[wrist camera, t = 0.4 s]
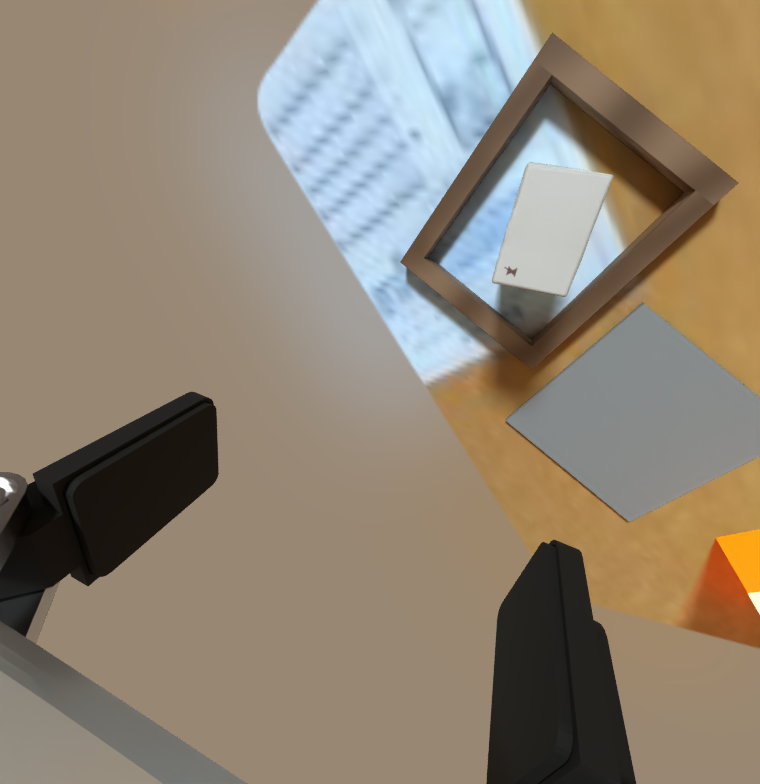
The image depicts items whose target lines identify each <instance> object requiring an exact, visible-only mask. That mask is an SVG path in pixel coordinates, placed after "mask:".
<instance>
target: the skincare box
mask: <svg viewBox="0 0 760 784" xmlns="http://www.w3.org/2000/svg"><path fill="white" fill-rule="evenodd" d="M612 179H613V175H611V174H605V173H599V172H593V171H587V170H580V169H574V168H568V167H561V166H554V165H548V164H541V163H533V162H529V163H528V164H527V165H526V167H525V171H524V174H523V177H522V181H521V184H520V187H519V191H518V194H517V198H516V201H515V204H514V208H513V211H512V214H511V217H510V220H509V223H508V225H507V229H506V233H505V237H504V240H503V243H502V246H501V250H500V253H499V257H498V260H497V264H496V267H495V271H494V274H493V278H492V282H493V283H496V284H502V285H507V286H512V287H517V288H522V289H527V290H533V291H538V292H543V293H548V294H553V295H558V296H563V297H565V296H566V295H567V293H568V291H569V288H570V286H571V284H572V281H573V279H574V277H575V274H576V272H577V270H578V267H579V265H580V262H581V260H582V257H583V254H584V251H585V249H586V246H587V243H588V240H589V238H590V235H591V232H592V230H593V227H594V225H595V222H596V220H597V217H598V214H599V212H600V209H601V207H602V204H603V202H604V199H605V196H606V194H607V191H608V189H609V186H610V183H611V181H612Z"/></svg>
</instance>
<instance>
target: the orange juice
mask: <svg viewBox="0 0 760 784" xmlns="http://www.w3.org/2000/svg"><path fill="white" fill-rule="evenodd" d="M716 539H717V541H718V543H719V544H720V546H721V548H722V550H723V551H724V553H725V555H726V556H727V558H728V560H729V562H730V563H731V565H732V567H733V568H734V570H735V572H736V574H737V575H738V577H739V579H740V580H741V582H742V584H743V585H744V587H745V589H746V591H747V592H748V595H749V597H750V599H751V600H752V602H753V604H754V605H755V607H756V609H757V611H758V612H759V614H760V529H759V530H754V531H749V532H743V533H738V534H733V535H728V536H723V537H718V538H716Z"/></svg>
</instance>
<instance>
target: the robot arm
mask: <svg viewBox="0 0 760 784" xmlns="http://www.w3.org/2000/svg"><path fill="white" fill-rule="evenodd" d="M33 476H34V479H35V481H34V482H32V483H30V484H29V485H28V484H27V482H26V479H25V478H23V477H22V476H20V475H18V474H14V473H10V472H0V784H246V783H245V782H244V781H242V780H241V779H239V778H238V777H236V776H235V775H233V774H232V773H230V772H229V771H227V770H226V769H224V768H223V767H221V766H220V765H218V764H217V763H215V762H214V761H212V760H211V759H209V758H208V757H206V756H205V755H203V754H202V753H200V752H199V751H197V750H196V749H194V748H192V747H191V746H190V745H188V744H187V743H185V742H184V741H182V740H180V739H179V738H178V737H176V736H175V735H173V734H171V733H170V732H169V731H167V730H166V729H164V728H163V727H161V726H160V725H158V724H156V723H155V722H153V721H152V720H150V719H149V718H147V717H146V716H144V715H143V714H141V713H140V712H138V711H137V710H135V709H134V708H132V707H130V706H129V705H128V704H126V703H125V702H123V701H122V700H120V699H119V698H117V697H116V696H114V695H113V694H111V693H110V692H108V691H107V690H105V689H104V688H102V687H100V686H99V685H98V684H96V683H94V682H93V681H91V680H90V679H88V678H87V677H85V676H84V675H82V674H81V673H79V672H78V671H76V670H75V669H73V668H72V667H70V666H69V665H67V664H65V663H64V662H62V661H61V660H59V659H58V658H56V657H54V656H53V655H52V654H50V653H49V652H47V651H46V650H44V649H43V648H41V647H40V646H38V645H36V642H37V639H38V637H39V634H40V632H41V629H42V627H43V624H44V622H45V619H46V616H47V614H48V611H49V609H50V606H51V603H52V601H53V598H54V596H55V593H56V590H57V588H58V585H59V583H60V580H62V579H63V578H64V577H66V576H67V575H68V574H69V573H70V574H71V576H72V577H73V578H75V579H76V580H78V581H80V582H81V583H83V584H85V585H87V586H89V585H90V584H92V583H93V582H94V581H95V580H96V579H97V578H99V577H103V576H106V575H108V574H109V573H111V572H112V571H113V570H114V569H115V568H117V567H118V566H119V565H120V564H121V563H122V562H124V561H125V560H126V559H127V558H128V557H129V556H130V555H132V554H133V553H134V552H135V551H136V550H137V549H139V548H140V547H141V546H142V545H143V544H144V543H146V542H147V541H148V540H149V539H150V538H151V537H153V536H154V535H155V534H156V533H157V532H158V531H160V530H161V529H162V528H163V527H164V526H165V525H167V524H168V523H169V522H170V521H171V520H172V519H173V518H175V517H176V516H177V515H178V514H179V513H181V512H182V511H183V510H184V509H185V508H186V507H188V506H189V505H190V504H191V503H192V502H193V501H194V500H196V499H197V498H198V497H199V496H200V495H201V494H203V493H204V492H205V491H206V490H207V489H208V488H210V487H211V486H212V485H213V484H214V483H215V481H216V479H217V477H218V445H217V416H216V408H215V406H214V404H213V401H212V400H211V399H210V398H207V397H205V396H202V395H200V394H198V393H195V392H189V393H186V394H185V395H183V396H181V397H179V398H177V399H175V400H173V401H171V402H169V403H167V404H165V405H163V406H162V407H160V408H158V409H156V410H154V411H152V412H150V413H148V414H146V415H144V416H142V417H141V418H139V419H137V420H135V421H133V422H131V423H129V424H127V425H125V426H123V427H121V428H119V429H117V430H116V431H114V432H112V433H110V434H108V435H106V436H104V437H102V438H100V439H99V440H97V441H95V442H93V443H91V444H89V445H87V446H85V447H83V448H81V449H79V450H77V451H75V452H73V453H72V454H70V455H68V456H66V457H64V458H62V459H60V460H58V461H56V462H54V463H52V464H50V465H48V466H47V467H45V468H43V469H41V470H39V471H37V472H35V473H33ZM494 663H495V664H494V677H493V694H492V709H491V724H490V738H489V739H490V740H489V753H488V769H487V784H636V781H635V776H634V771H633V766H632V760H631V756H630V751H629V745H628V741H627V735H626V730H625V726H624V720H623V715H622V710H621V705H620V700H619V695H618V690H617V685H616V680H615V675H614V670H613V665H612V660H611V655H610V650H609V644H608V639H607V636H606V633H605V630H604V628H603V627H602V625H601V624H600V623H598V622H596V621H594V620H593V615H592V609H591V603H590V597H589V592H588V586H587V580H586V574H585V569H584V563H583V557H582V553H581V552H580V550H578V549H576V548H573V547H571V546H568V545H566V544H564V543H561V542H559V541H556V540H552V541H551V542H550V543H549V544H547V543H545V542H542V543H541V544H540V546H539V547H538V549H537V550H536V552H535V553H534V555H533V556H532V558H531V559H530V561H529V563H528V564H527V566H526V567H525V569H524V570H523V572H522V573H521V575H520V576H519V578H518V579H517V581H516V582H515V584H514V586H513V587H512V589H511V590H510V592H509V593H508V595H507V596H506V598H505V599H504V601H503V602H502V604H501V606H500V609H499V613H498V618H497V632H496V647H495V662H494Z"/></svg>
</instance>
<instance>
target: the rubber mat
mask: <svg viewBox="0 0 760 784" xmlns="http://www.w3.org/2000/svg"><path fill="white" fill-rule="evenodd" d="M506 421H507V422H508V423H509V424H510V425H512V426H513V427H514V428H515V429H516V430H518V431H519V432H520V433H521V434H522V435H524V436H525V437H526V438H527V439H529V440H530V441H531V442H532V443H533V444H535V445H536V446H537V447H538V448H540V449H541V450H542V451H543V452H544V453H546V454H547V455H548V456H549V457H550V458H552V459H553V460H554V461H555V462H557V463H558V464H559V465H560V466H561V467H563V468H564V469H565V470H566V471H568V472H569V473H570V474H571V475H572V476H574V477H575V478H576V479H577V480H578V481H580V482H581V483H582V484H583V485H585V486H586V487H587V488H588V489H589V490H591V491H592V492H593V493H594V494H596V495H597V496H598V497H599V498H600V499H602V500H603V501H604V502H605V503H606V504H608V505H609V506H610V507H611V508H613V509H614V510H615V511H616V512H617V513H619V514H620V515H621V516H622V517H624V518H625V519H626V520H627V521H628V522H631V521H633V520H635V519H637V518H639V517H641V516H643V515H645V514H647V513H649V512H651V511H653V510H655V509H657V508H659V507H661V506H663V505H665V504H667V503H669V502H671V501H673V500H675V499H677V498H679V497H681V496H683V495H685V494H687V493H689V492H691V491H693V490H695V489H697V488H699V487H701V486H703V485H705V484H707V483H708V482H710V481H712V480H714V479H716V478H718V477H720V476H722V475H724V474H726V473H728V472H730V471H732V470H734V469H736V468H738V467H740V466H742V465H744V464H746V463H748V462H750V461H752V460H754V459H756V458H758V457H760V398H759V397H758V396H757V395H756V394H755V393H753V392H752V391H751V390H750V389H748V388H747V387H746V386H745V385H743V384H742V383H741V382H740V381H739V380H737V379H736V378H735V377H734V376H732V375H731V374H730V373H729V372H727V371H726V370H725V369H724V368H723V367H721V366H720V365H719V364H718V363H716V362H715V361H714V360H713V359H711V358H710V357H709V356H708V355H707V354H705V353H704V352H703V351H702V350H700V349H699V348H698V347H697V346H695V345H694V344H693V343H692V342H691V341H689V340H688V339H687V338H686V337H684V336H683V335H682V334H681V333H679V332H678V331H677V330H676V329H675V328H673V327H672V326H671V325H670V324H668V323H667V322H666V321H665V320H663V319H662V318H661V317H660V316H659V315H657V314H656V313H655V312H654V311H652V310H651V309H650V308H649V307H647V306H646V305H645V304H644V303H642V304H641V305H639V306H638V307H637V308H636V309H635V310H633V311H632V312H631V313H630V314H629V315H628V316H626V317H625V318H624V319H623V320H622V321H621V322H619V323H618V324H617V325H616V326H615V327H613V328H612V329H611V330H610V331H609V332H608V333H606V334H605V335H604V336H603V337H602V338H601V339H599V340H598V341H597V342H596V343H595V344H594V345H592V346H591V347H590V348H589V349H588V350H586V351H585V352H584V353H583V354H582V355H581V356H579V357H578V358H577V359H576V360H575V361H574V362H572V363H571V364H570V365H569V366H568V367H566V368H565V369H564V370H563V371H562V372H561V373H559V374H558V375H557V376H556V377H555V378H554V379H552V380H551V381H550V382H549V383H548V384H546V385H545V386H544V387H543V388H542V389H541V390H539V391H538V392H537V393H536V394H535V395H534V396H532V397H531V398H530V399H529V400H528V401H526V402H525V403H524V404H523V405H522V406H521V407H519V408H518V409H517V410H516V411H515V412H514V413H512V414H511V415H510V416H509V417H508V418H507V419H506Z"/></svg>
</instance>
